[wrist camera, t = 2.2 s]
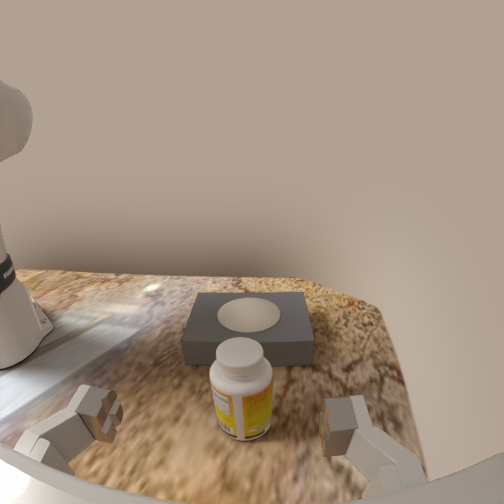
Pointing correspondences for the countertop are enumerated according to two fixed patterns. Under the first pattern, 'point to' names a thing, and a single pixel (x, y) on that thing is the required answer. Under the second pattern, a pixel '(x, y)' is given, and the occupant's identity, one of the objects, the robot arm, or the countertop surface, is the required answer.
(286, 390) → the countertop surface
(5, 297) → the robot arm
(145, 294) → the countertop surface
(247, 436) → the supplement bottle
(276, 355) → the block
